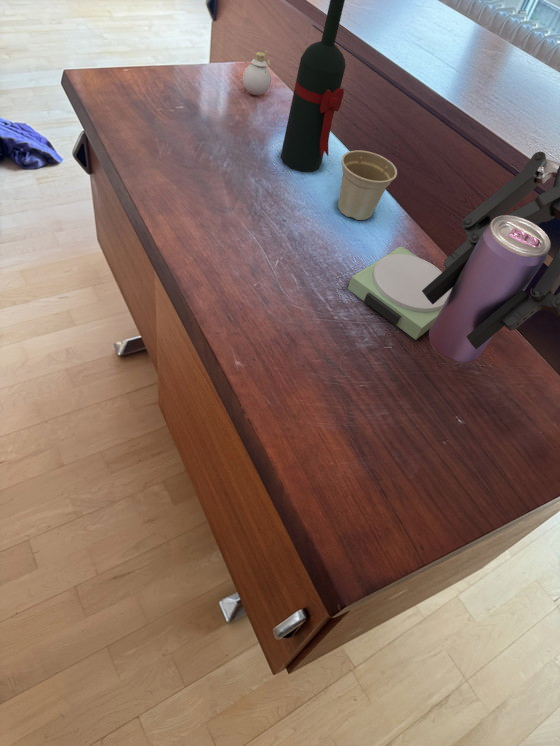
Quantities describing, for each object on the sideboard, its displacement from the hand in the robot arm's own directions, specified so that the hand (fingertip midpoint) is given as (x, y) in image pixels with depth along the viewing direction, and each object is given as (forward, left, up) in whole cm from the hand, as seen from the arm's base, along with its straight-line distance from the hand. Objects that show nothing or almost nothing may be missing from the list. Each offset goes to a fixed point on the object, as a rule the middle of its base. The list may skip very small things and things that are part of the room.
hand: (449, 319), depth 56 cm
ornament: (+71, -47, -19) cm, 87 cm away
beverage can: (-1, -3, -6) cm, 7 cm away
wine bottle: (+47, -36, -19) cm, 62 cm away
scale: (+13, -22, -19) cm, 31 cm away
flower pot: (+32, -33, -19) cm, 49 cm away
